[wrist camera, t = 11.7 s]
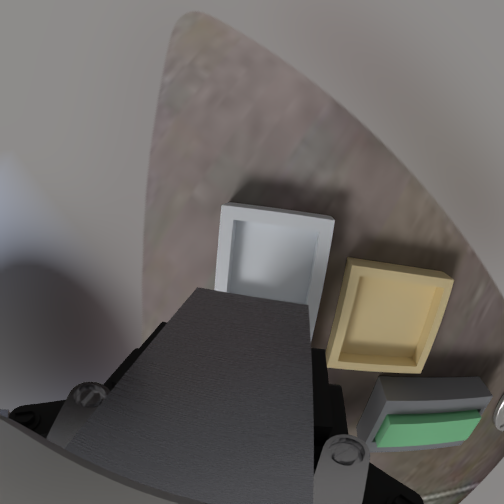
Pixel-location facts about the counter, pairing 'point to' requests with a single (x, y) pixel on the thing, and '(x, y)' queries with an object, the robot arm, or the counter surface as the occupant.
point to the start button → (426, 428)
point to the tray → (273, 254)
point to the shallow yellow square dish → (386, 317)
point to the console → (419, 403)
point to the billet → (215, 405)
